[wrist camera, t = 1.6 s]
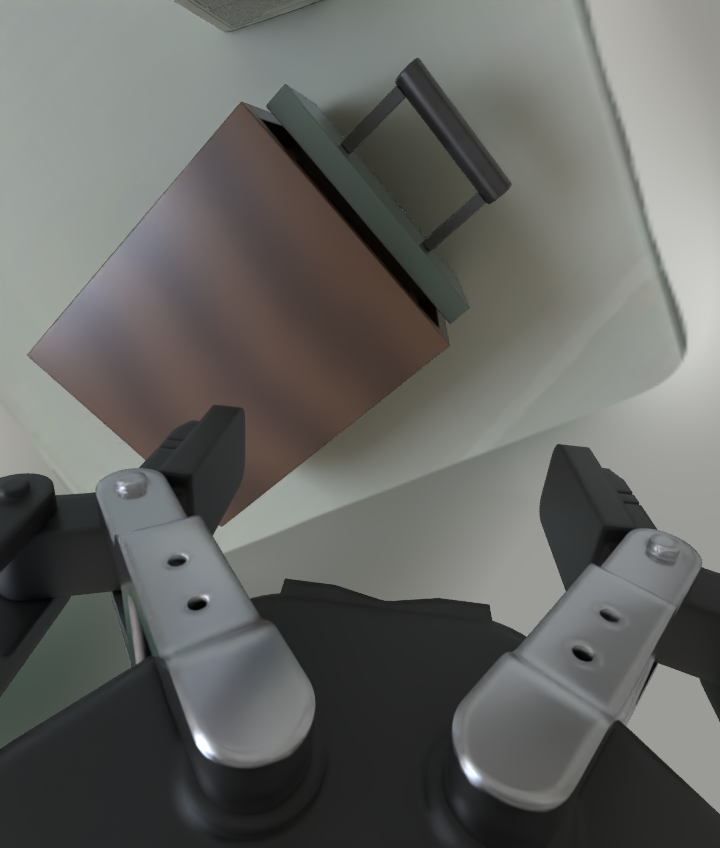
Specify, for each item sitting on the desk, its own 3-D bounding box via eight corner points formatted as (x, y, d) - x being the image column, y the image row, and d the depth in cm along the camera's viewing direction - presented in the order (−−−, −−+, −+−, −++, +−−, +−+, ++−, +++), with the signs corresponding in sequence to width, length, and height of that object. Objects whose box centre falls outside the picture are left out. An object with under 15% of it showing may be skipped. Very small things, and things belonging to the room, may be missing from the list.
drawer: (383, 28, 28) (373, -19, 21) (526, 220, 31) (559, 235, 24) (143, 293, 35) (76, 324, 28) (280, 427, 38) (250, 486, 31)
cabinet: (289, 119, 31) (241, 100, 22) (441, 301, 35) (450, 345, 26) (117, 311, 37) (25, 355, 28) (262, 450, 40) (221, 527, 32)
